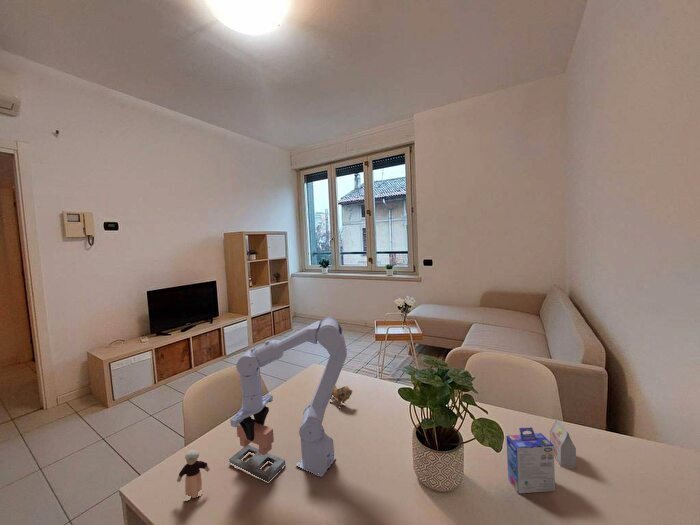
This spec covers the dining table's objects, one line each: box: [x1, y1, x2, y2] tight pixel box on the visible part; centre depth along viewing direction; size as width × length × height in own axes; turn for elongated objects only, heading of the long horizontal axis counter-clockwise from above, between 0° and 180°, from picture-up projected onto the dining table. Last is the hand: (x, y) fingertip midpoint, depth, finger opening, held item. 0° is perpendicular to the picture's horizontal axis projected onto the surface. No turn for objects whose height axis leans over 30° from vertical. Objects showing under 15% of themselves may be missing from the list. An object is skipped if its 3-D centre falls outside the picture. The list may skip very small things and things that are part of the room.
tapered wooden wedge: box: [236, 422, 275, 455], centre depth 85 cm, size 12×3×6 cm, turn 62°
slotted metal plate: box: [228, 444, 286, 482], centre depth 86 cm, size 16×7×2 cm, turn 62°
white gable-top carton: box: [549, 418, 577, 469], centre depth 83 cm, size 4×7×10 cm, turn 166°
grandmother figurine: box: [176, 448, 211, 499], centre depth 76 cm, size 8×4×13 cm, turn 126°
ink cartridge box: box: [505, 426, 556, 494], centre depth 74 cm, size 10×6×14 cm, turn 92°
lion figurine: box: [330, 385, 353, 407], centre depth 117 cm, size 15×5×9 cm, turn 46°
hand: (255, 435), depth 85 cm, fingers closed on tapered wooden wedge, 3 cm apart
